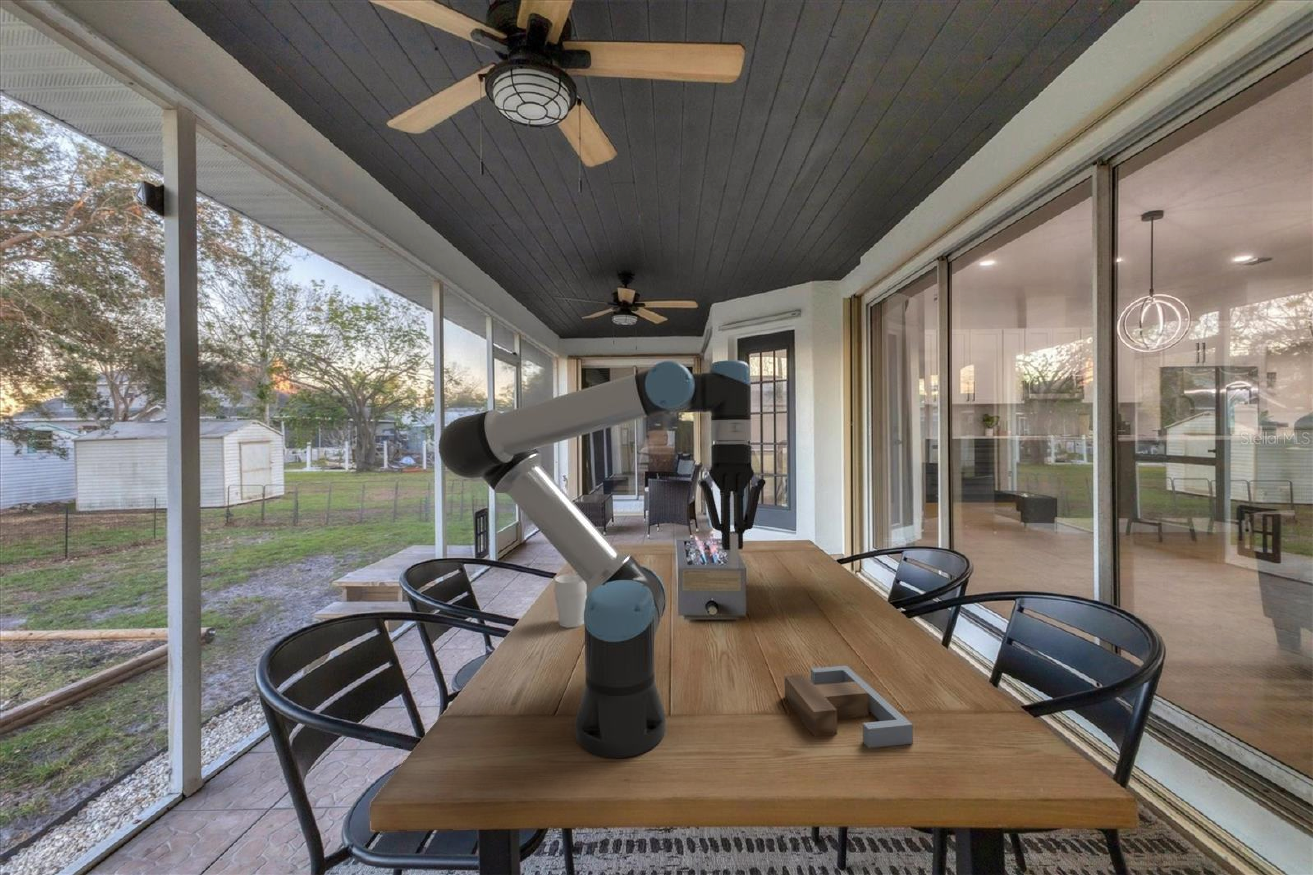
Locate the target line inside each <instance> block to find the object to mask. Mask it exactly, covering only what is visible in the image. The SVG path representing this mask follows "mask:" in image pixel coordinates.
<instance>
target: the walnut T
mask: <svg viewBox="0 0 1313 875" xmlns="http://www.w3.org/2000/svg"><path fill="white" fill-rule="evenodd" d="M784 698H785V700H786V701H787V700H788V701H787V702H788V703H789V705H790V706H791V708H792V709H793V710H794V712H795V713H796V714H797V716H798V717H799V716H800V717H799V718H800V719H801V721H802V720H803V721H804V722H803V721H802V722H803V724H804V725H805V724H806V725H807V726H806V725H805V726H806V728H807V729H808V728H809V729H810V730H809V729H808V730H809V731H810V732H812V733H811V735H813V737H819V736H821V737H822V736H833V735H837V734H838V719H837V718H839V719H846V718H845V717H849V718H854V717H853V716H859V717H867V716H866V715H868V716H869V710H868V692H867V691H866V690H864V689H863V688H862V687H861V686H860V685H859V684H858V683H857V682H856V681H855V682H844V683H832V684H821V685H814V684H813V683H812V682H811V679H810V678H809V677H808V676H807V675H806V674H803V673H802V674H792V675H790V674H789V675H784Z"/></svg>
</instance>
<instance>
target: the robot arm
mask: <svg viewBox="0 0 1313 875" xmlns="http://www.w3.org/2000/svg"><path fill="white" fill-rule="evenodd" d="M750 369H751V368H750V365H749V364H748V363H747V362H746V361H743V360H737V359H736V360H735V359H731V360H729V359H727V360H719V361H715V362H712V363H711V365H710V369H709V372H702V373H701V372H700V373H691V371H690V370H689V369H688V368H687V367H686V366H685V365H683V364H682V363H680V362H676V361H674V360H665V361H661V362H658V363H656V364H655V365H653V367H651V369H647V370H644V371H640V372H639V373H634V374H631V375H628V376H627V375H626V376H623V377H620V378H617V379H613V380H610V381H606V382H603V383H599V384H596V385H592V386H590V387H585V388H582V389H580V390H576V391H572V392H569V393H566V394H562V395H559V396H555V397H552V398H548V399H544V400H542V401H538V402H534V403H532V404H528V405H525V406H521V407H518V408H514V409H510V410H507V411H503V412H500V411H499V410H496V409H490V410H487V411H484V412H480V413H475V414H471V415H470V414H469V415H466V416H461V417H459V418H457V419H454V420H452V422H450V423H449V424H447V425H446V427H445V428H444V430H443V431H442V433H441V434H440V437H439V441H438V453H439V456H440V459H441V461H442V464H443V465H444V466H445V467H446V468H447V469H448V470H449V471H451V472H452V473H453V474H455V475H457V476H460V477H463V478H468V479H477V478H482V479H483V480H484V481H485V482H486V483H487V485H488V486H489V487H491V489H492V490H493V491H494V492H495V493H496V494H506V495H508V496H509V497H510V498H511V501H513V502H514V503H515V504H516V505H517V507H518V508H519V509H520V510H521V511H522V512H523V513H524V515H525V516H526V517H528V519H529V520H530V522H532V523H533V524H534V526H535V527H536V528H537V529H538V530H539V532H541V534H542V535H543V536H544V537H545V538H546V539H547V541H548V542H549V543H550V544H551V545H552V546H553V548H554V549H555V550H556V551H557V553H559V554H560V555H561V557H563V559H564V560H565V561H566V563H567V564H569V565H570V567H571V568H572V569H573V570H574V571H575V572H576V574H579V576H580V577H581V578H582V579H583V580H584V581H585V582H586V585H587V590H586V596H587V598H586V601H585V609H584V624H583V625H584V656H585V657H584V662H585V664H584V665H585V668H584V670H585V686H584V689H583V693H582V696H581V699H580V701H579V702H580V703H579V705H578V709H577V712H576V716H575V739H576V741H577V743H578V744H579V745H580V747H582V748H583V750H586V751H587V752H589V753H590V754H593V755H596V756H599V757H604V758H612V759H614V758H615V759H622V758H629V757H634V756H638V755H641V754H644V753H646V752H648V751H650V750H652V749H653V748H655V747H656V746H657V745H658V744H659V743H660V742H661V741H662V740H663V738H664V736H665V733H666V713H665V712H666V711H665V708H664V706H663V702H662V699H661V697H660V694H659V691H658V688H657V685H656V681H655V678H656V677H655V637H656V633H657V631H658V627H659V625H660V623H661V619H662V618H663V615H664V614H665V610H666V605H667V604H666V603H667V597H666V589H665V585H664V582H663V580H662V579H661V578H660V577H659V575H658V574H657V573H656V572H655V571H654V570H652V569H651V568H648V567H646V566H642V565H640V563H639V562H638V561H637V560H636V559H635V558H634V557H633V556H632V555H631V553H620V552H618V551H617V549H616V548H615V547H614V546H613V545H612V544H611V542H610V541H609V540H608V539H607V538H606V537H605V536H604V535H603V534H602V532H600V530H599V529H598V528H597V527H596V526H595V525H594V523H593V522H591V520H590V519H589V518H588V517H587V516H586V515H585V513H584V512H583V511H582V510H581V509H580V508H579V507H578V506H577V505H576V503H574V501H573V500H572V499H571V498H570V497H569V495H567V493H566V492H565V491H564V490H563V489H562V488H561V487H560V485H559V484H558V483H557V482H556V481H555V479H553V478H552V476H551V475H550V474H549V473H548V472H547V471H546V470H545V469H544V468H543V466H542V454H541V453H540V452H539V451H538V450H537V448H538V449H539V448H542V447H544V446H545V447H546V446H548V445H549V446H550V445H552V444H556V443H559V442H563V441H566V440H569V439H570V440H571V439H574V438H577V437H579V436H584V435H587V434H591V433H595V432H597V431H602V430H605V429H609V428H612V427H615V426H619V425H622V424H623V425H624V424H626V423H630V422H634V421H636V420H640V419H643V418H646V417H650V416H651V417H652V416H656V415H659V414H666V415H668V414H675V413H677V414H681V413H682V414H683V413H710V415H711V416H710V419H711V423H710V425H711V427H710V432H711V434H710V436H711V437H710V439H711V441H712V442H713V443H714V444H712V445H711V466H710V470H709V471H708V472H709V473H708V475H707V476H705V477H704V478H703V479H701V478H700V479H699V480H698V481H697V484H698V486H699V487H700V489H701V491H702V493H703V496H704V500H705V504H706V509H707V512H708V517H709V521H710V524H711V527H712V528H713V529H714V530H715V531H718V532H721V547H722V549H723V550H724V551H726V565H727V566H728V568H730V569H733V570H734V569H739V550H743V548H744V533H745V532H746V531H747V530H748V531H749V530H751V529H752V528H753V527H754V523H755V518H756V514H757V508H758V504H759V499H760V496H761V491H762V490H763V489H764V487H765V485H766V482H767V481H766V480H765V479H763V478H760V477H759V476H757V475H756V474H755V471H754V469H753V467H752V445H751V444H750V443H749V442H750V441H751V440H752V421H751V419H752V418H751V417H752V413H751V411H752V405H751V404H752V398H751V397H752V384H751V370H750ZM712 482H713V483H714V485H716V487H717V488H718V490H719V496H720V517H719V512H718V510H717V505H716V501H715V497H714V493H713V490H712V488H713V483H712ZM749 483H750V487H751V488H750V490H749V494H748V497H747V498H748V499H747V502H746V508H745V513H744V497H745V489H746V488H747V486H748V484H749ZM731 496H733V529H734V530H731Z"/></svg>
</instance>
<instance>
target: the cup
mask: <svg viewBox="0 0 1313 875" xmlns="http://www.w3.org/2000/svg"><path fill="white" fill-rule="evenodd" d="M586 590H587V585H586V582H585V581H584V580H583V579H582V578H581V577H580V576H579V574H578V573H565V574H561V575H558V576H556V577H555V579H554V596H555V605H556V609H557V610H556V611H557V616H558V617H557V618H558V622H559V623H558V624H559V625H560V626H561V627H562V628H566V629H567V628H568V629H571V628H572V629H573V628H578V627H581V626H583V625H585V624H584V609H585V601H586V598H587V596H586Z"/></svg>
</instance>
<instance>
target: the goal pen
mask: <svg viewBox="0 0 1313 875" xmlns="http://www.w3.org/2000/svg"><path fill="white" fill-rule="evenodd" d="M810 681H811V682H812V683H813V684H814V685H821V684H832V683H844V682H855V681H856V682H857V683H858V684H859V685H860V686H861V687H862V688H863V689H864V690H866V691H867V692H868V712H870V713H871V714H872V715H873V716H874V717H875V718H876V719H877V720H878V721H870V722H862V743H864V745H865V746H866V747H867V748H868V749H873V748H883V747H892V746H899V745H909V744H914V727H913V726H914V724H913V723H912V722H911V721H910V720H908V719H907V718H906V717H905V716H904V715H903V714H902V713H900V712H899V711H898V710H897V709H896V708H895V706H893V705H891V704H890V703H889V702H888V701H887V700H886V699H885V698H884V697H882V696H881V694H879V693H878V692H877V691H876V690H875V689H873V688H872V686H870V685H869V684H868V683H867V682H866V681H864V679H862V678H861V677H860V676H859V675H858V674H857V673H856V672H855V671H853V670H852V669H851V668H850V667H849V666H848V665H838V666H825V667H824V666H823V667H814V668H813V667H812V668H810Z"/></svg>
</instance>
